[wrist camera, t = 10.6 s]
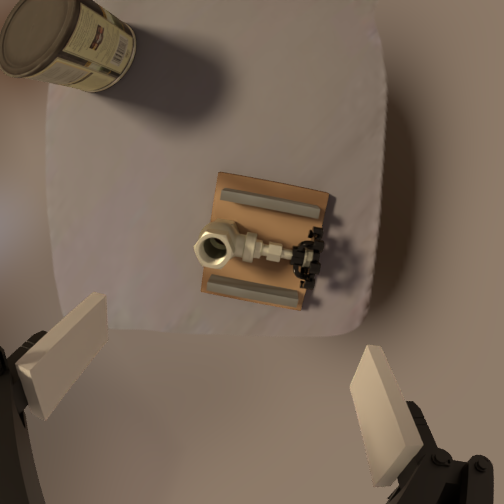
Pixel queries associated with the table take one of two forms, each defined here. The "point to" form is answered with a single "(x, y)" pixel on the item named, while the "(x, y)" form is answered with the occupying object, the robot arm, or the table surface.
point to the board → (263, 237)
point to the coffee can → (66, 44)
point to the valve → (258, 249)
